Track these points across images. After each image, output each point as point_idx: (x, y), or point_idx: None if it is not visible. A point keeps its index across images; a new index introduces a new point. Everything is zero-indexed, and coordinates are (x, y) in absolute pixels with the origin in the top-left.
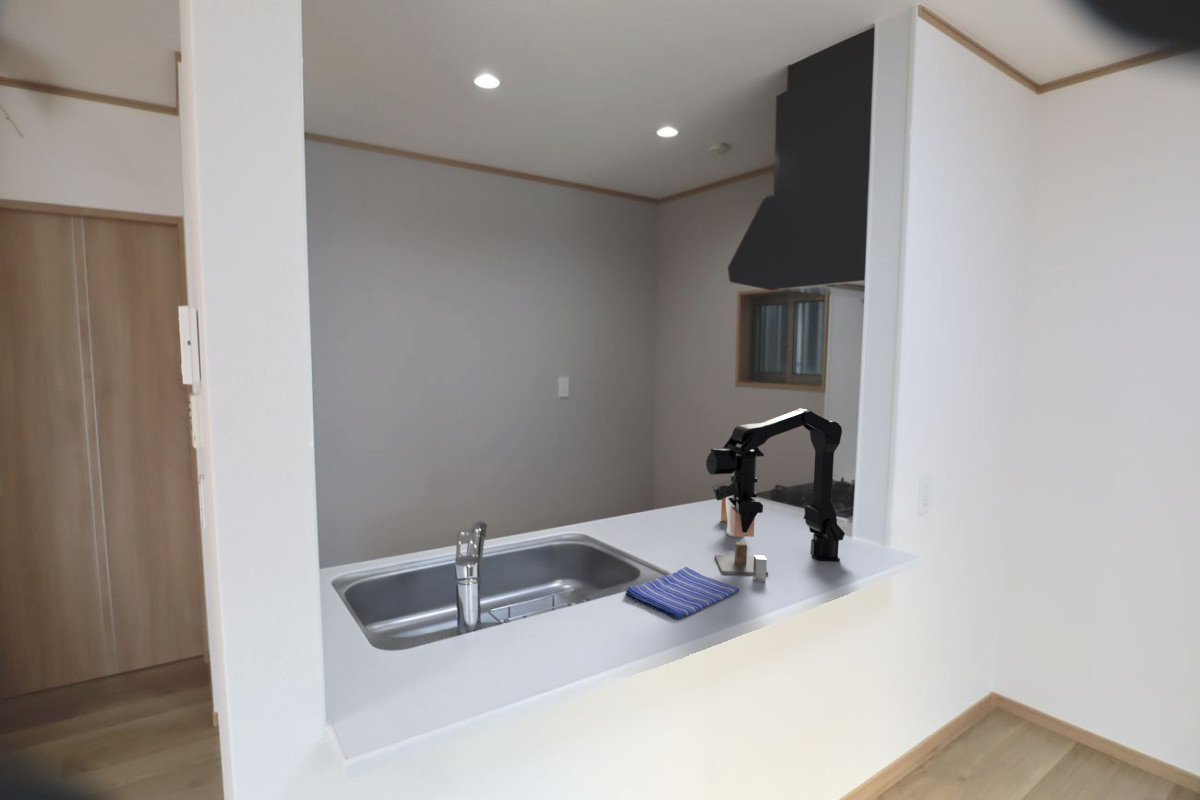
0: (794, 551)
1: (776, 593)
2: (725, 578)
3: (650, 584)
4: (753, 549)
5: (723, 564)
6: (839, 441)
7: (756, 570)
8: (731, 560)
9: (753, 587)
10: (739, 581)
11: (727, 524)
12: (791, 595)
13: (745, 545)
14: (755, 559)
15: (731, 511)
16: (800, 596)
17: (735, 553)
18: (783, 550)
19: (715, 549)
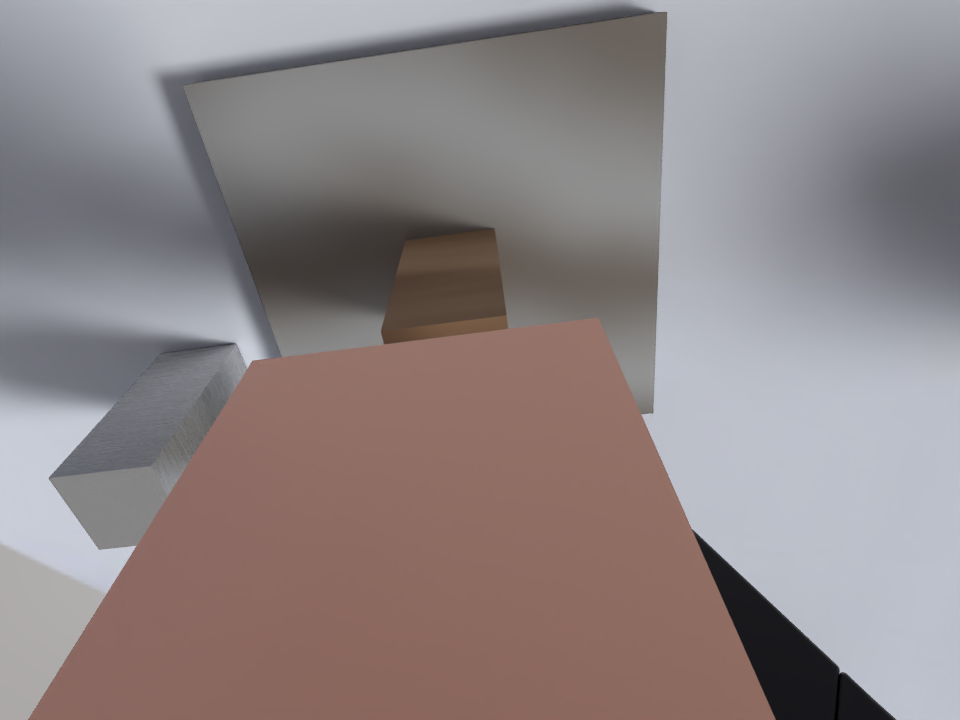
0: (789, 597)
1: (31, 456)
2: (102, 113)
3: None
4: (856, 388)
5: (376, 108)
6: None
7: (118, 409)
8: (511, 198)
9: (41, 333)
10: (102, 238)
11: None
12: (55, 522)
13: None
14: (94, 461)
15: (721, 690)
16: (71, 556)
17: (476, 262)
18: (812, 552)
19: (911, 32)
